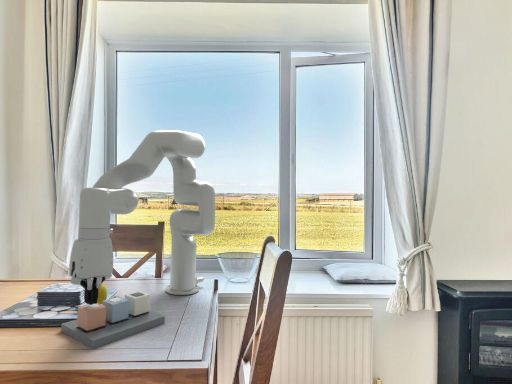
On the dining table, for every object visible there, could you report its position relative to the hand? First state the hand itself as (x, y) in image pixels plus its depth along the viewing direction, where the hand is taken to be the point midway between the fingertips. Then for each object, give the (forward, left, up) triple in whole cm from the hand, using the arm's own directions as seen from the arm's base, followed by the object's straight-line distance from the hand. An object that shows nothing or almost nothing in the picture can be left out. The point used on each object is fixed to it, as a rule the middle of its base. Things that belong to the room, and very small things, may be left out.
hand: (90, 303), depth 93 cm
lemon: (-12, -18, -9) cm, 24 cm away
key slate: (-7, 0, -6) cm, 10 cm away
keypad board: (-7, 0, -9) cm, 11 cm away
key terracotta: (0, 0, -6) cm, 6 cm away
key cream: (-14, 0, -6) cm, 16 cm away
